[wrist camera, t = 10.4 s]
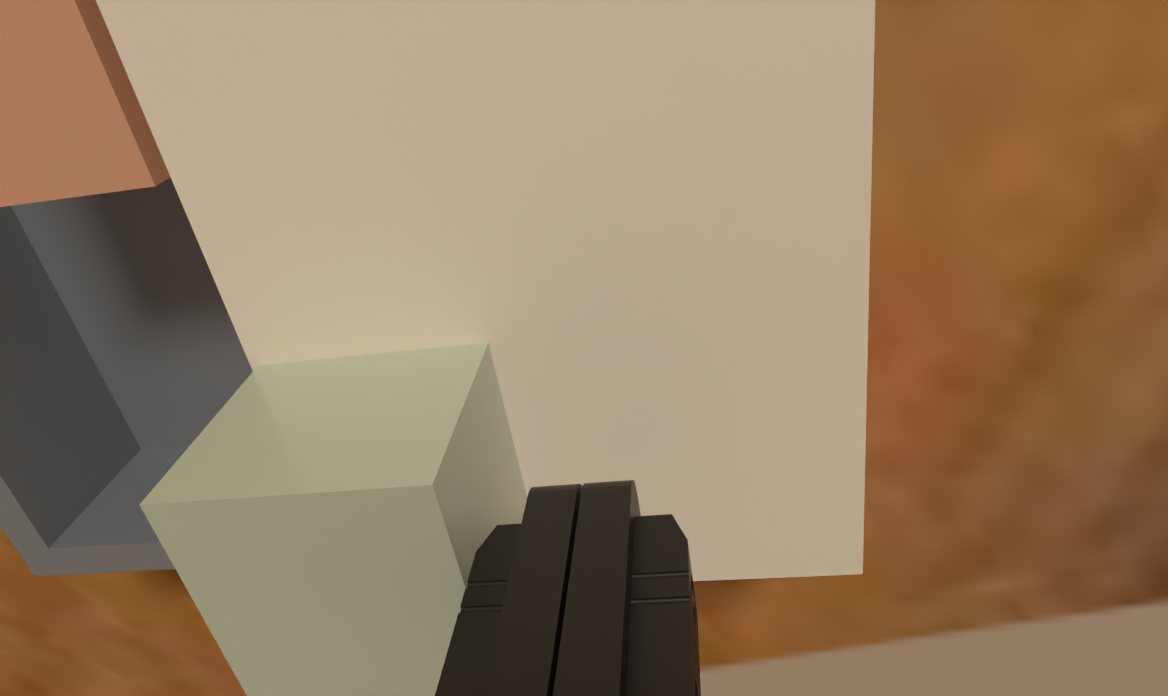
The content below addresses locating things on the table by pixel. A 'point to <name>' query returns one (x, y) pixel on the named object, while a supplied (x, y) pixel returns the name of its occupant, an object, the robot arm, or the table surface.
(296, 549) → the sage green cube
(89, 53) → the orange cube
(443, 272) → the cream rectangular block
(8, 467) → the box
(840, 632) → the table surface
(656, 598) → the robot arm
